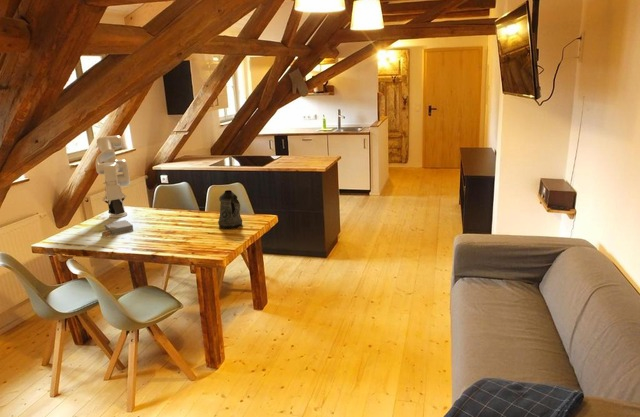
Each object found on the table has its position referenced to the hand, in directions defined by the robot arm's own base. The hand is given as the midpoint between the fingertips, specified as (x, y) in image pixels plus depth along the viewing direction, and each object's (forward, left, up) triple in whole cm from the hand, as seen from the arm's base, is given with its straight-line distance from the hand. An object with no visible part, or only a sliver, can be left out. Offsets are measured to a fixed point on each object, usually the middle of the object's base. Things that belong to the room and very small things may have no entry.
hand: (116, 208), depth 318 cm
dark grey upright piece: (+47, +62, -16) cm, 79 cm away
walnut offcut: (+7, -10, -16) cm, 20 cm away
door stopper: (0, 0, -3) cm, 3 cm away
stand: (0, 0, -15) cm, 15 cm away
